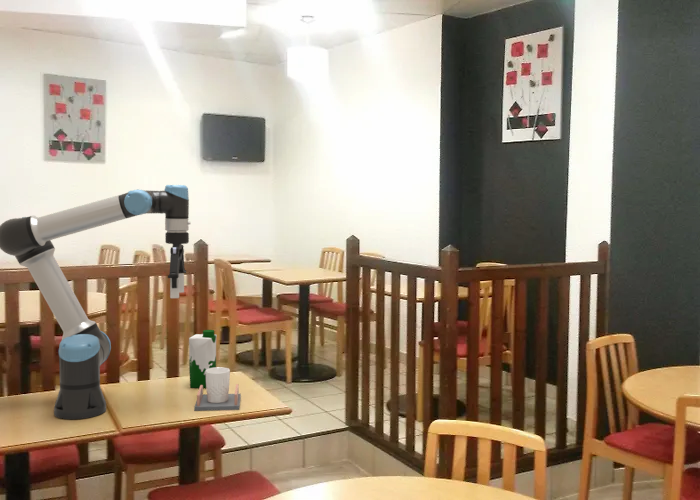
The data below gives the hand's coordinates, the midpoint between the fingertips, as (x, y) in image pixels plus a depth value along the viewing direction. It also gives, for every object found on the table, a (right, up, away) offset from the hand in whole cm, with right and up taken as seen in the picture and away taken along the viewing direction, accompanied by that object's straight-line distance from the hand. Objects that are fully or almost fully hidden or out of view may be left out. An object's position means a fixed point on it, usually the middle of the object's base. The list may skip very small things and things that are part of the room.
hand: (177, 295), depth 227 cm
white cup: (+14, -34, -4) cm, 37 cm away
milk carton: (+5, -34, +17) cm, 38 cm away
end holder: (+14, -35, -4) cm, 38 cm away
